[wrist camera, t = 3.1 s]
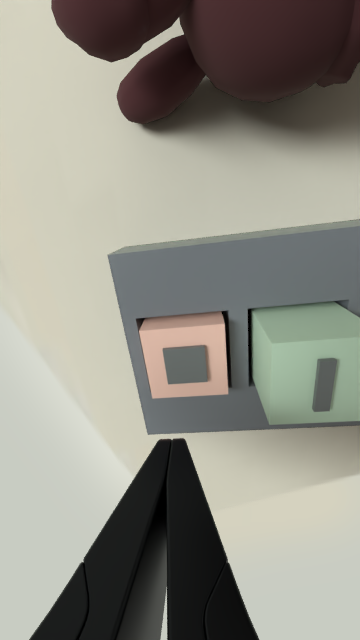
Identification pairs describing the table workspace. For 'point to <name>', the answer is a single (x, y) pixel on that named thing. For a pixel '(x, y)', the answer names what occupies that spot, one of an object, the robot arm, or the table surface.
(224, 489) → the table surface
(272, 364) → the key sage
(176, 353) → the key coral
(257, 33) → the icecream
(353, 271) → the keypad
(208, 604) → the robot arm
